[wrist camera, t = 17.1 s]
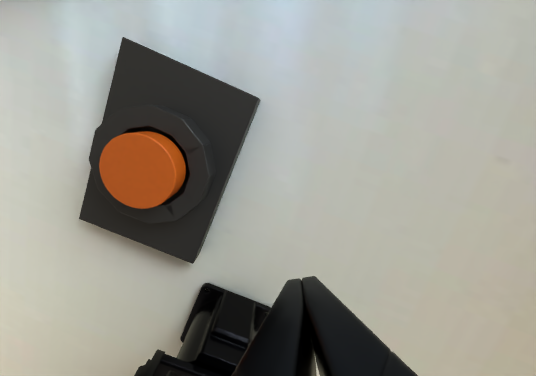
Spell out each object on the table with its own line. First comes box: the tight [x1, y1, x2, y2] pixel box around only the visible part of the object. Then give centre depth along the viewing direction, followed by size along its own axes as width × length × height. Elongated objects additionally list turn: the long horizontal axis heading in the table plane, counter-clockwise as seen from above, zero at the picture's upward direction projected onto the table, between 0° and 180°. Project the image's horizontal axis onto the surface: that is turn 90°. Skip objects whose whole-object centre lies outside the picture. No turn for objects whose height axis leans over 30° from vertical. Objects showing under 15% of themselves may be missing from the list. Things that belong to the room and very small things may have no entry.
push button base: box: [79, 37, 260, 264], centre depth 17 cm, size 13×9×4 cm
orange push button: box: [99, 131, 186, 209], centre depth 15 cm, size 4×4×2 cm
